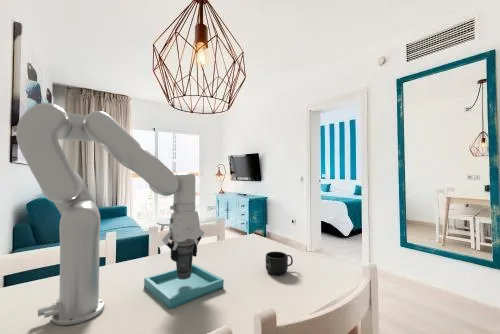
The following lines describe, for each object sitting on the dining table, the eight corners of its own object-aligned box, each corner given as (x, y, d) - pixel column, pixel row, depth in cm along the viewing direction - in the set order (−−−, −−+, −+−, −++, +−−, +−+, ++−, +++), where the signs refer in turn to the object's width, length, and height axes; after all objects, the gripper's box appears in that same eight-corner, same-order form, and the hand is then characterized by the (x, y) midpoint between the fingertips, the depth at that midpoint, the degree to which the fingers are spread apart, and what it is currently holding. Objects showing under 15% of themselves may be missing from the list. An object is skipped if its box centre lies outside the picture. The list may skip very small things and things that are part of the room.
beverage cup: (182, 283, 85) (182, 223, 85) (169, 277, 89) (169, 220, 89) (199, 275, 90) (199, 219, 90) (185, 270, 95) (186, 217, 95)
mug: (271, 278, 98) (271, 259, 98) (262, 269, 106) (262, 252, 106) (298, 274, 102) (298, 256, 102) (287, 266, 110) (287, 249, 111)
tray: (169, 309, 75) (170, 299, 75) (144, 286, 90) (144, 278, 90) (223, 288, 89) (223, 279, 89) (193, 271, 104) (193, 263, 104)
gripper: (165, 211, 81) (165, 267, 81) (210, 206, 93) (210, 255, 93) (156, 209, 87) (155, 261, 86) (199, 204, 99) (199, 250, 98)
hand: (184, 257), depth 90 cm, fingers closed on beverage cup, 6 cm apart
